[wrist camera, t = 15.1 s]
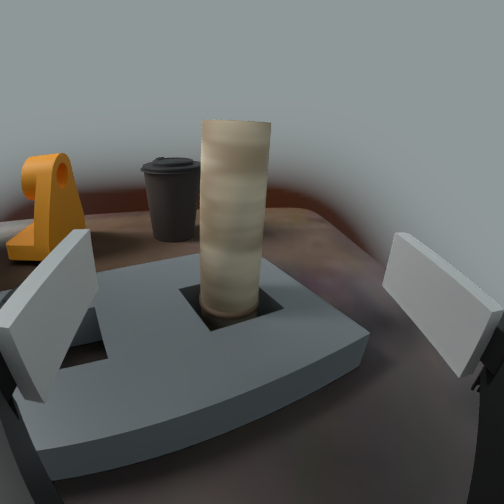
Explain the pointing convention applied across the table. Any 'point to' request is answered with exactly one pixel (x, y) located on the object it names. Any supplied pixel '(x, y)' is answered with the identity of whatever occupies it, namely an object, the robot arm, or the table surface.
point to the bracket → (47, 207)
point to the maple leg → (232, 219)
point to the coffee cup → (172, 197)
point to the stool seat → (182, 367)
